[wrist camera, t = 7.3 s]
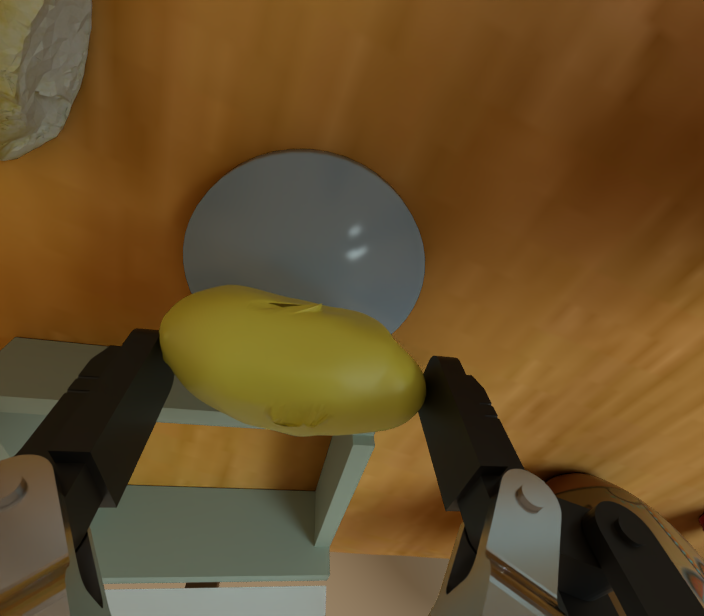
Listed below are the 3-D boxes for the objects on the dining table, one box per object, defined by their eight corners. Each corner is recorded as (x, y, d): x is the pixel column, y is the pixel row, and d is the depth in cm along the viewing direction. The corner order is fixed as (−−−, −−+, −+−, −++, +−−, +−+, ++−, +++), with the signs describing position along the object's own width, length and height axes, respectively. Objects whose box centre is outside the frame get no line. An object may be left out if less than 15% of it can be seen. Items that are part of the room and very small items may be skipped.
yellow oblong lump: (202, 223, 9) (138, 310, 6) (437, 322, 12) (479, 417, 9) (170, 330, 11) (110, 437, 8) (375, 393, 14) (391, 492, 11)
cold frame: (15, 337, 14) (-104, 443, 10) (371, 372, 17) (385, 467, 13) (91, 491, 22) (41, 584, 18) (326, 498, 25) (326, 580, 21)
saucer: (180, 119, 10) (170, 123, 9) (455, 178, 12) (462, 186, 11) (197, 339, 15) (191, 352, 15) (385, 360, 17) (388, 371, 16)
